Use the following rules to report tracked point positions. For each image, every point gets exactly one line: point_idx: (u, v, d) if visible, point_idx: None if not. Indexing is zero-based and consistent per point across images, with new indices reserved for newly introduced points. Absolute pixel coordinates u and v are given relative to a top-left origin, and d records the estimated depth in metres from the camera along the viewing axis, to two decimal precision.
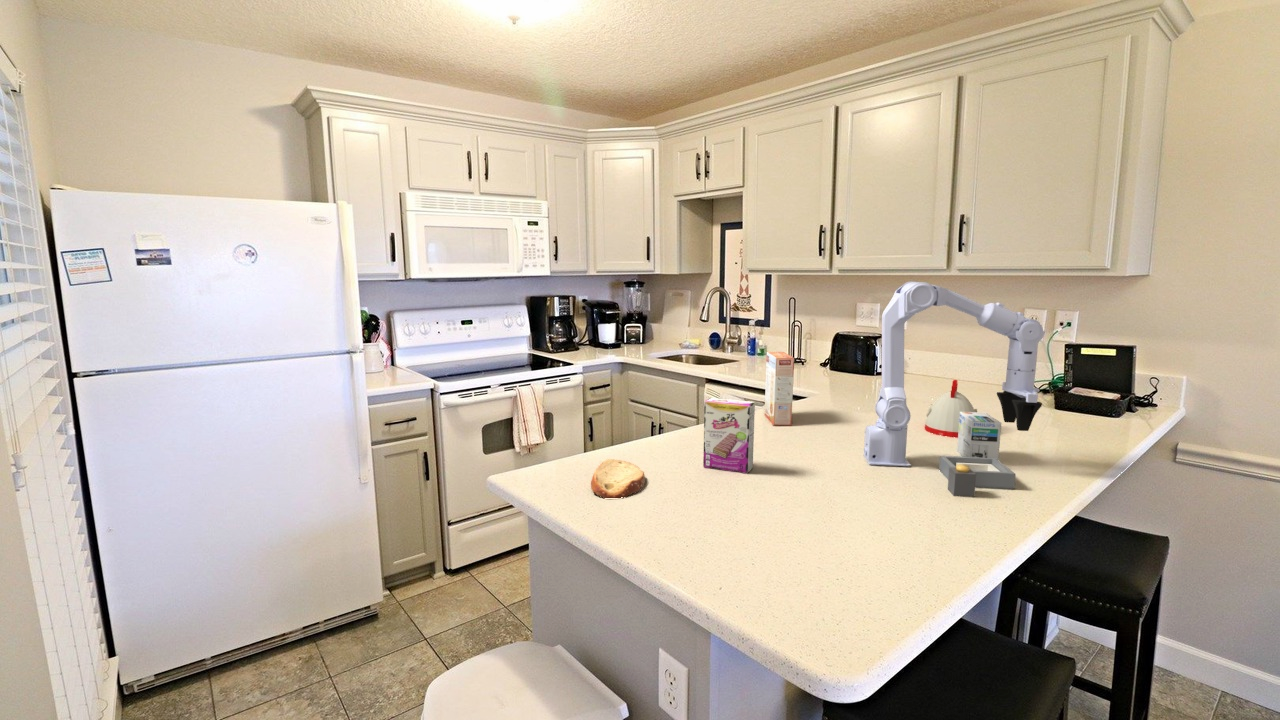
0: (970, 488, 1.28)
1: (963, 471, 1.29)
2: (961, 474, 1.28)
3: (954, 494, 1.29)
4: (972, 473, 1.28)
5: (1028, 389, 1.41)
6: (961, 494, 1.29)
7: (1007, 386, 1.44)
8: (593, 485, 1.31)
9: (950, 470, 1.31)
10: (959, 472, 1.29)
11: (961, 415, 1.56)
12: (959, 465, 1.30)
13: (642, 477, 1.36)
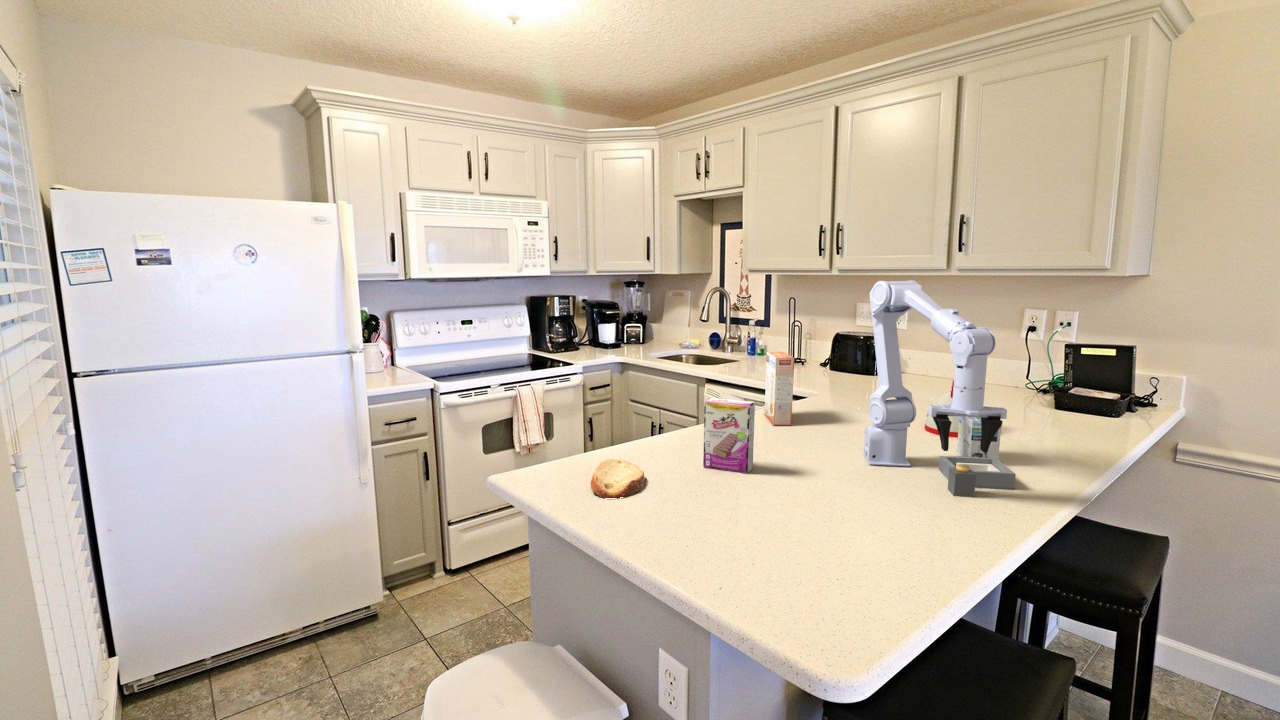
0: (970, 488, 1.28)
1: (963, 471, 1.29)
2: (961, 474, 1.28)
3: (954, 494, 1.29)
4: (972, 473, 1.28)
5: (954, 407, 1.27)
6: (961, 494, 1.29)
7: None
8: (593, 485, 1.31)
9: (950, 470, 1.31)
10: (959, 472, 1.29)
11: None
12: (959, 465, 1.30)
13: (642, 477, 1.36)
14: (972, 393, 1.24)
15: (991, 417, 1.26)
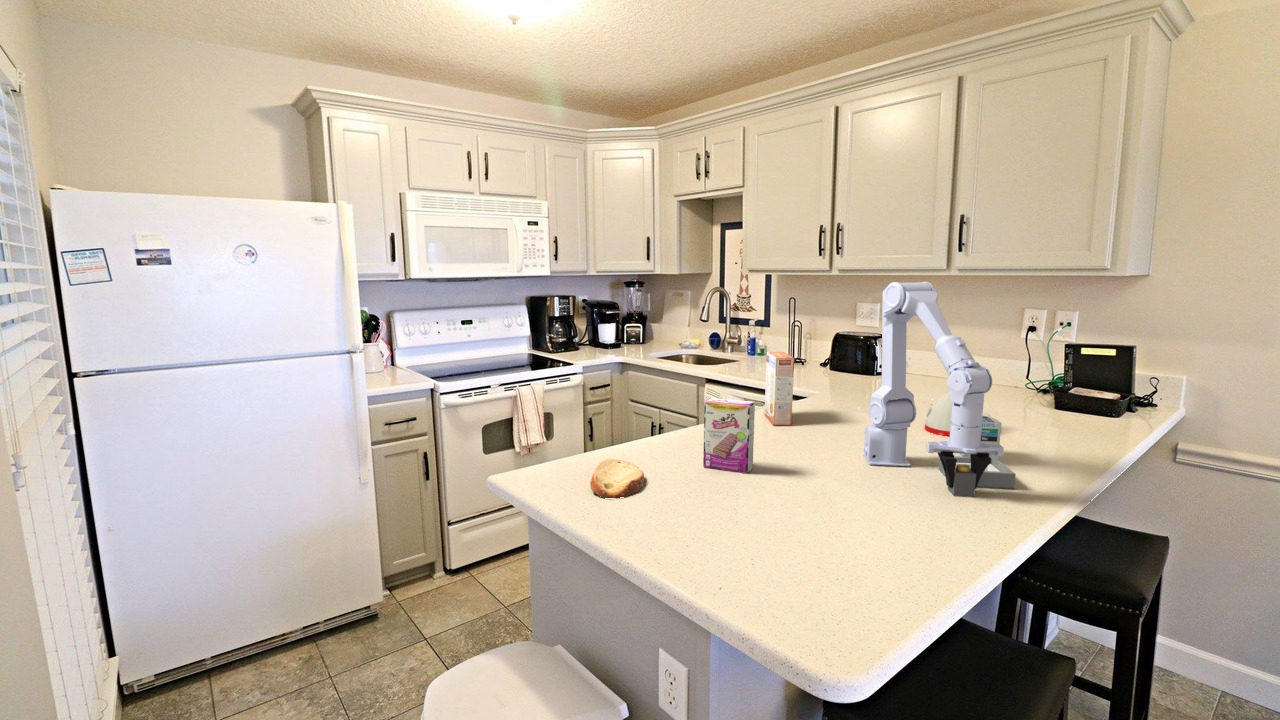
0: (970, 488, 1.28)
1: (963, 471, 1.29)
2: (961, 473, 1.28)
3: (954, 494, 1.29)
4: (972, 473, 1.28)
5: (952, 444, 1.28)
6: (961, 494, 1.29)
7: None
8: (593, 485, 1.31)
9: None
10: (959, 472, 1.29)
11: None
12: (959, 465, 1.30)
13: (642, 477, 1.36)
14: (969, 431, 1.26)
15: (988, 454, 1.28)
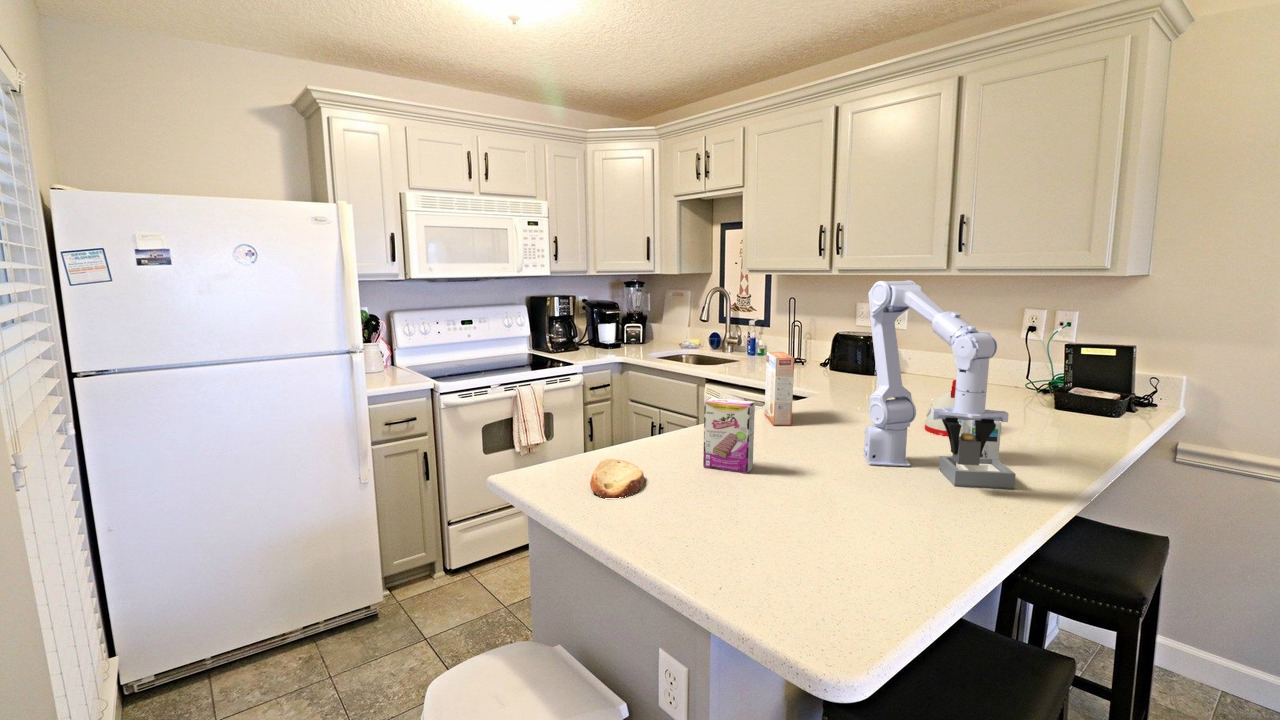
0: (975, 456, 1.28)
1: (968, 439, 1.29)
2: (966, 442, 1.28)
3: (959, 462, 1.29)
4: (977, 441, 1.28)
5: (956, 410, 1.29)
6: (966, 462, 1.29)
7: None
8: (593, 485, 1.31)
9: None
10: (964, 440, 1.28)
11: None
12: (964, 433, 1.30)
13: (641, 477, 1.36)
14: (974, 397, 1.26)
15: (993, 420, 1.28)
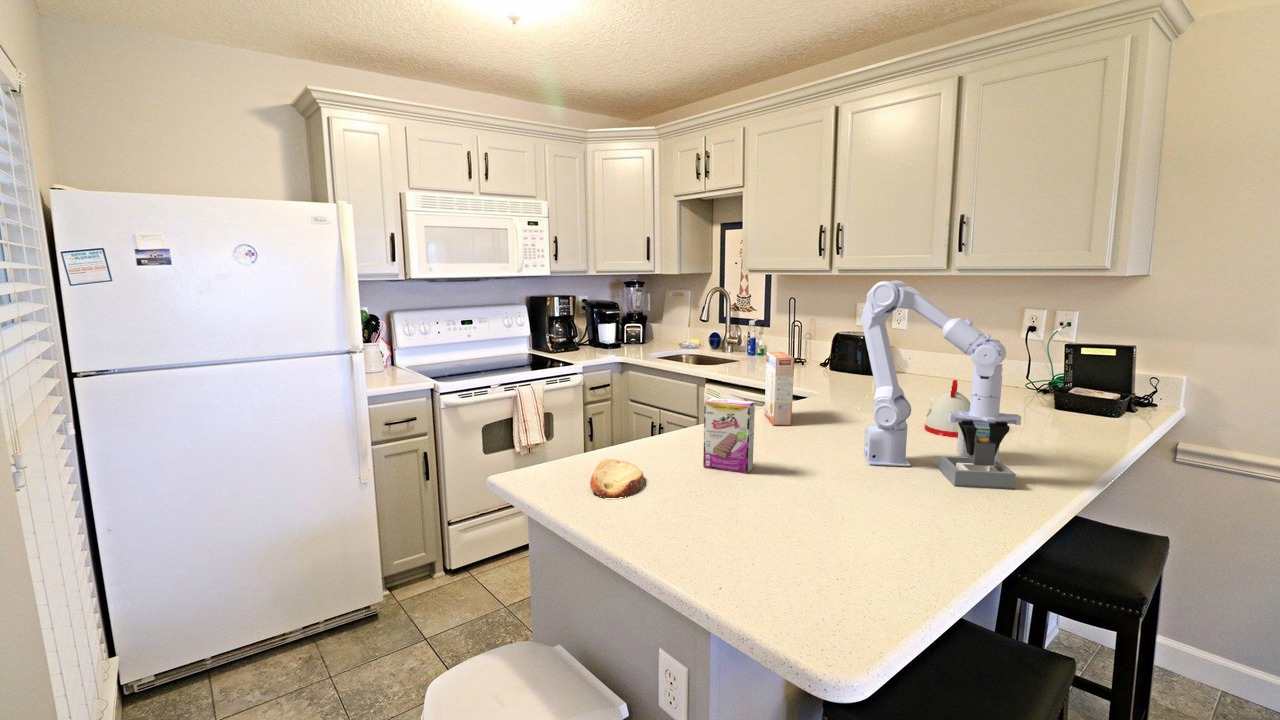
0: (990, 457, 1.36)
1: (983, 441, 1.36)
2: (981, 444, 1.36)
3: (975, 463, 1.37)
4: (992, 443, 1.36)
5: (972, 413, 1.36)
6: (981, 463, 1.36)
7: None
8: (593, 485, 1.31)
9: None
10: (979, 442, 1.36)
11: None
12: (979, 436, 1.38)
13: (641, 476, 1.36)
14: (989, 401, 1.34)
15: (1006, 423, 1.36)
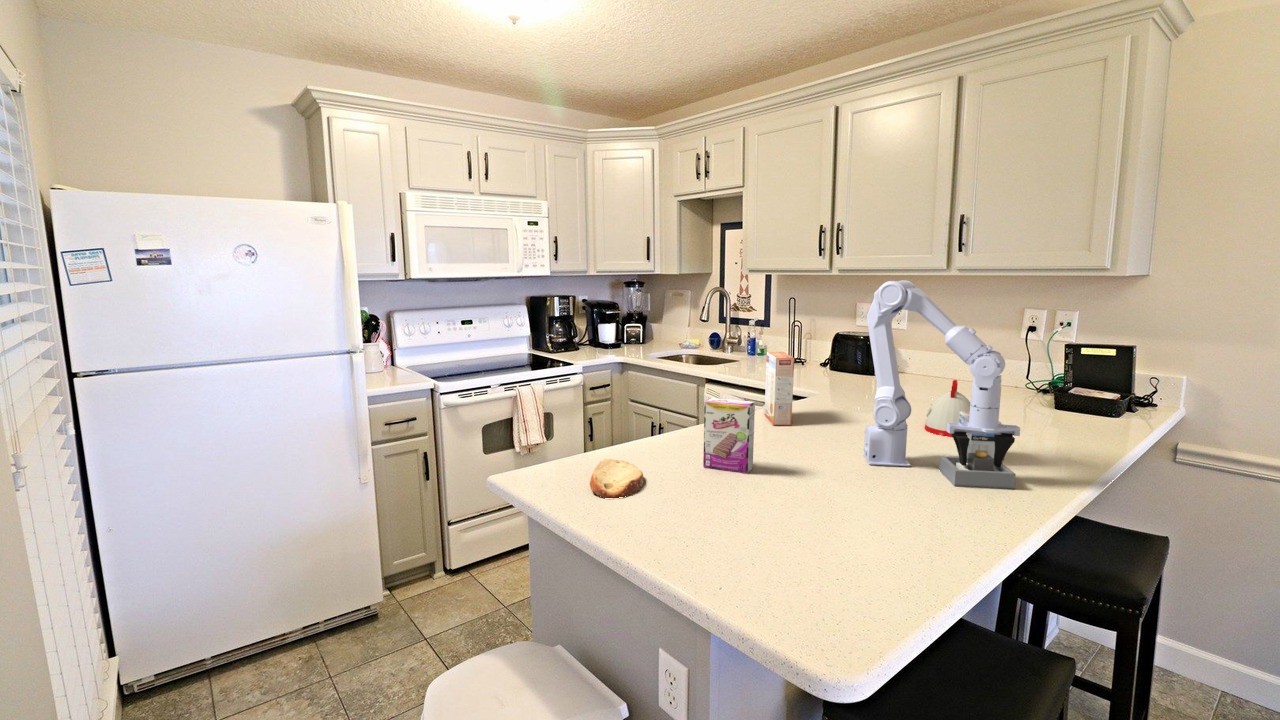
0: None
1: (982, 456, 1.37)
2: (980, 459, 1.36)
3: None
4: (990, 458, 1.36)
5: (971, 424, 1.37)
6: None
7: None
8: (592, 485, 1.31)
9: (969, 455, 1.39)
10: (978, 457, 1.37)
11: (961, 415, 1.56)
12: (978, 451, 1.38)
13: (641, 476, 1.36)
14: (988, 412, 1.34)
15: (1005, 434, 1.36)
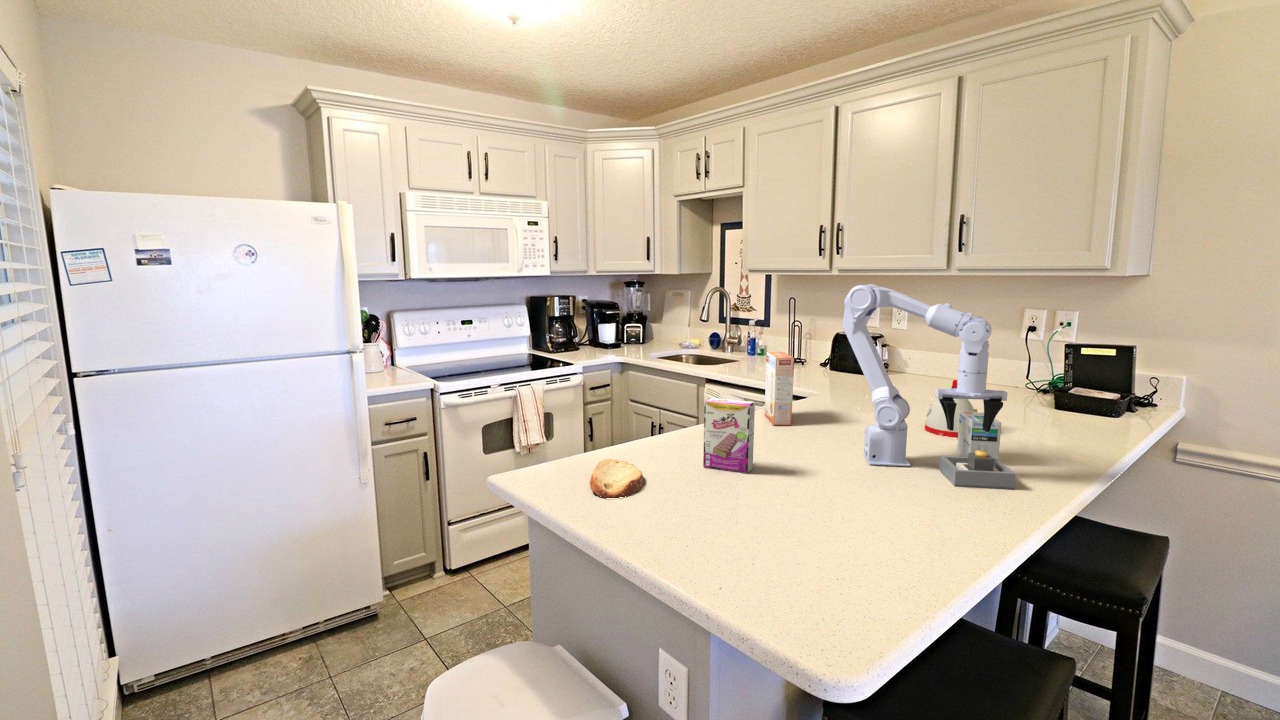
0: None
1: (982, 456, 1.37)
2: (980, 459, 1.36)
3: None
4: (990, 458, 1.36)
5: (959, 390, 1.39)
6: None
7: None
8: (592, 485, 1.31)
9: (969, 455, 1.39)
10: (978, 457, 1.37)
11: (961, 415, 1.56)
12: (978, 451, 1.38)
13: (641, 476, 1.36)
14: (975, 377, 1.36)
15: (993, 399, 1.38)
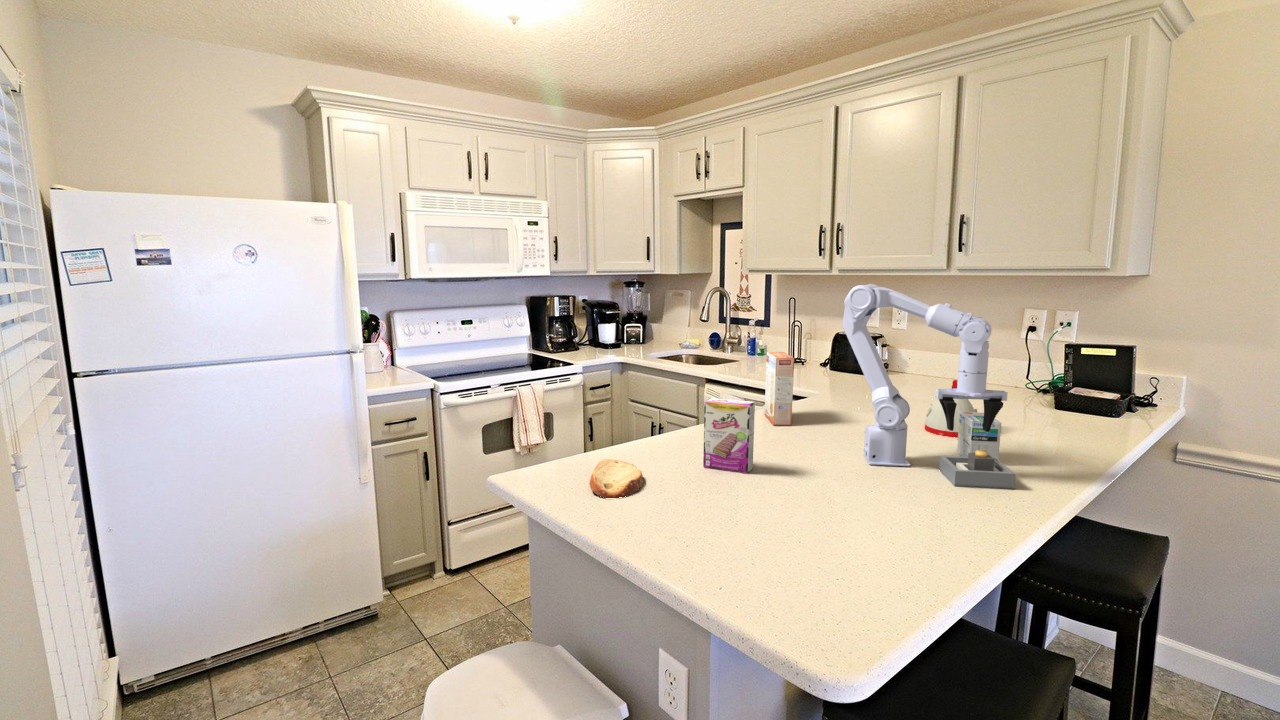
0: None
1: (982, 456, 1.37)
2: (980, 459, 1.36)
3: None
4: (990, 458, 1.36)
5: (959, 390, 1.39)
6: None
7: None
8: (592, 485, 1.31)
9: (969, 455, 1.39)
10: (978, 457, 1.37)
11: (961, 415, 1.56)
12: (978, 451, 1.38)
13: (640, 476, 1.36)
14: (975, 377, 1.36)
15: (993, 399, 1.38)
